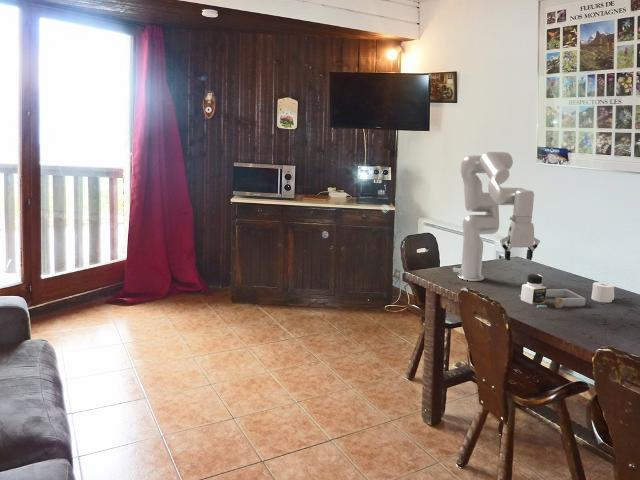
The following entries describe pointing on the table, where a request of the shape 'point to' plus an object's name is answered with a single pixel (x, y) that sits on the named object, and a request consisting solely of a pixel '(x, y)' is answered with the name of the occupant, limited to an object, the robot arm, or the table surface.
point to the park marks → (540, 305)
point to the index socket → (570, 296)
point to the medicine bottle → (533, 290)
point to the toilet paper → (602, 292)
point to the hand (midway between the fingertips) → (518, 259)
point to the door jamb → (558, 302)
